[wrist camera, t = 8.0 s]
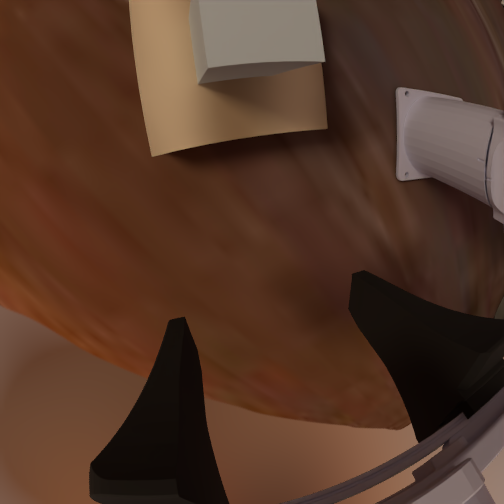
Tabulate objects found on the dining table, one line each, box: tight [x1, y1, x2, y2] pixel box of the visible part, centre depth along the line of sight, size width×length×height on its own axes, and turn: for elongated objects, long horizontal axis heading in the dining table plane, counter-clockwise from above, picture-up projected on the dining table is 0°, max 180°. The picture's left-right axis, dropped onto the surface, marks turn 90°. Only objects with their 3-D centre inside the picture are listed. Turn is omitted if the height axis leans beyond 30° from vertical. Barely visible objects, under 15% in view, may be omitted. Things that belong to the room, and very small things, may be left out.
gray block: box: [189, 0, 325, 84], centre depth 9 cm, size 4×4×6 cm
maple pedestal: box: [129, 0, 328, 157], centre depth 13 cm, size 10×10×3 cm
